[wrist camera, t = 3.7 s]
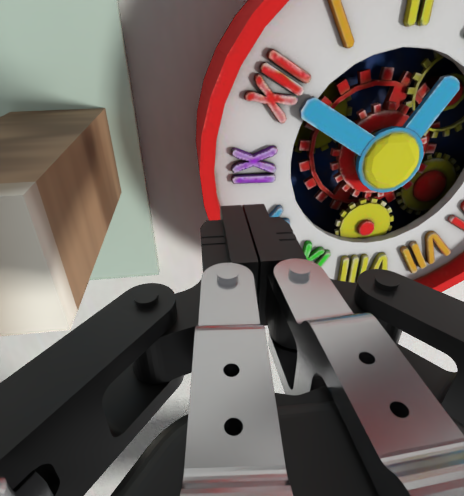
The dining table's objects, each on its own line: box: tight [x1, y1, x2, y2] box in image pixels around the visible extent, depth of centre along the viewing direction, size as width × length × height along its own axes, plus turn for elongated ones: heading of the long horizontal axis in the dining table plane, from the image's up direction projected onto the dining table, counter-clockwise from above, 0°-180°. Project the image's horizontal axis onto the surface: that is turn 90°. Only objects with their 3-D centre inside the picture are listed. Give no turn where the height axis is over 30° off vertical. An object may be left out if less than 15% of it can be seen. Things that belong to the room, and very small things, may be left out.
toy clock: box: [196, 0, 464, 292], centre depth 21 cm, size 20×6×20 cm
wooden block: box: [0, 108, 122, 336], centre depth 16 cm, size 5×5×12 cm
